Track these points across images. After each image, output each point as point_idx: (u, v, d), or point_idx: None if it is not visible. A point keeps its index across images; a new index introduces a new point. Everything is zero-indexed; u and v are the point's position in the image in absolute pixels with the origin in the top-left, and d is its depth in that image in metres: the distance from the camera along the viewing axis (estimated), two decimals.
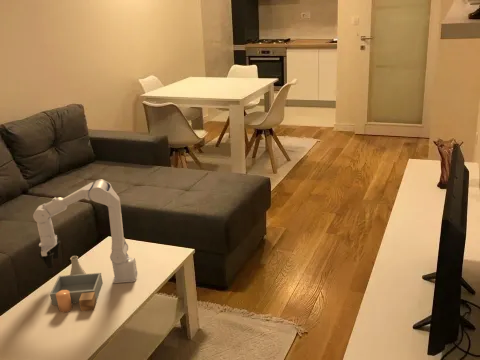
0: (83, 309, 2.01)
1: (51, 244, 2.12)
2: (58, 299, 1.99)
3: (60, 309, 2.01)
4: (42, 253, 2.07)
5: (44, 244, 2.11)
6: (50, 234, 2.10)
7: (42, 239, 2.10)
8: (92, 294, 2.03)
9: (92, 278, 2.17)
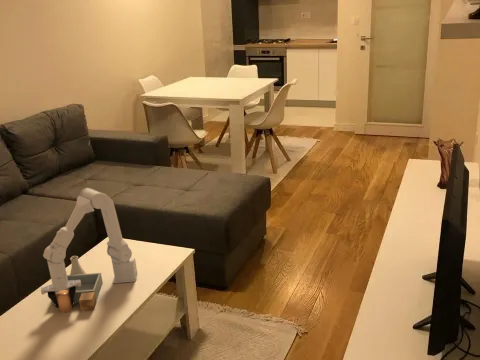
0: (83, 309, 2.01)
1: (54, 287, 1.97)
2: (58, 299, 1.99)
3: (60, 309, 2.01)
4: (41, 289, 1.98)
5: None
6: (65, 273, 1.98)
7: None
8: (92, 294, 2.03)
9: (92, 278, 2.17)
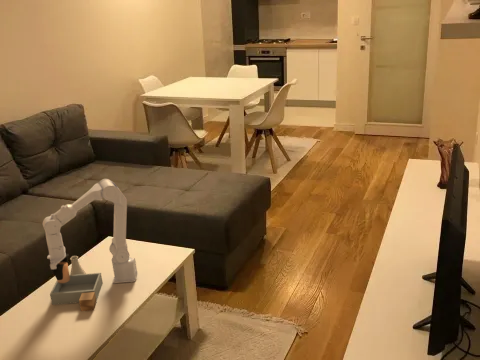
0: (83, 309, 2.01)
1: (60, 256, 2.04)
2: (63, 269, 2.06)
3: (65, 280, 2.08)
4: (51, 266, 1.99)
5: (53, 256, 2.03)
6: (61, 245, 2.03)
7: (50, 251, 2.02)
8: (92, 294, 2.03)
9: (92, 278, 2.17)
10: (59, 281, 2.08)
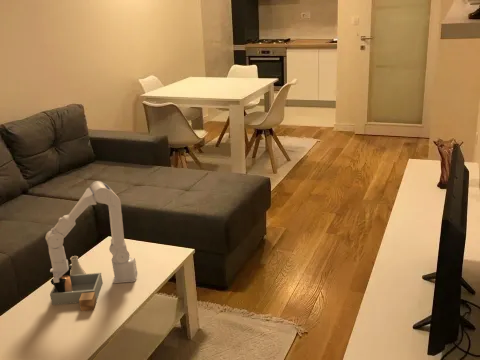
0: (83, 309, 2.01)
1: (63, 270, 2.06)
2: (66, 283, 2.09)
3: None
4: (54, 279, 2.02)
5: (56, 270, 2.05)
6: (64, 258, 2.06)
7: (53, 264, 2.04)
8: (92, 294, 2.03)
9: (92, 278, 2.17)
10: None
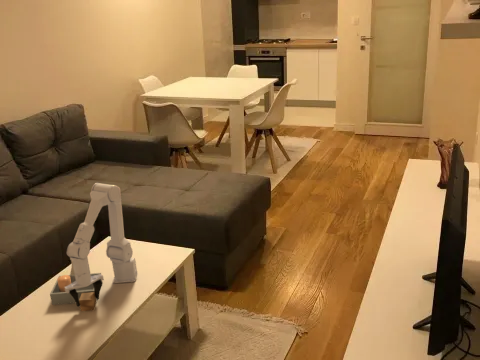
0: (83, 309, 2.01)
1: (79, 284, 1.97)
2: (66, 283, 2.09)
3: None
4: (65, 288, 1.96)
5: None
6: (89, 268, 1.99)
7: None
8: (92, 294, 2.03)
9: None
10: None
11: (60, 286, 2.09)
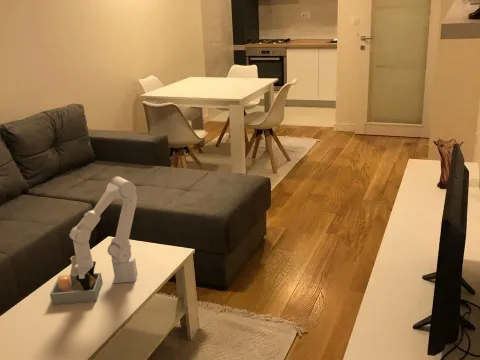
0: (90, 284, 2.10)
1: (88, 266, 2.06)
2: (67, 282, 2.09)
3: None
4: (80, 275, 2.02)
5: (81, 266, 2.05)
6: (90, 253, 2.06)
7: (79, 260, 2.04)
8: None
9: None
10: None
11: (60, 286, 2.09)
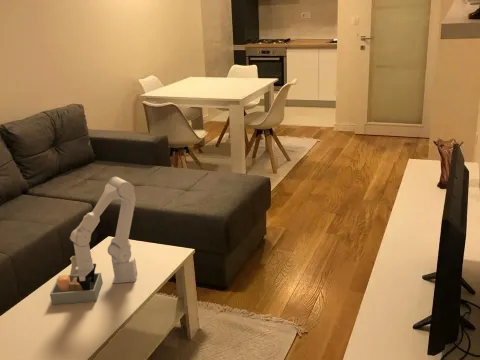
0: None
1: (88, 268, 2.06)
2: (66, 282, 2.09)
3: None
4: (80, 278, 2.02)
5: (81, 268, 2.06)
6: (90, 256, 2.07)
7: (79, 263, 2.05)
8: None
9: None
10: None
11: (60, 286, 2.09)
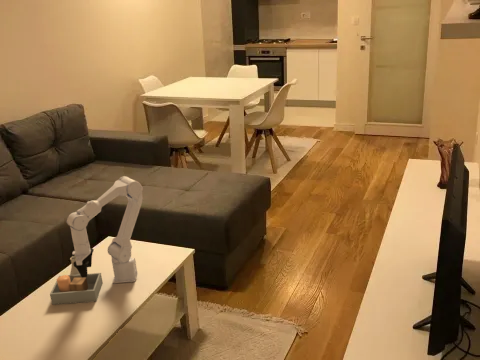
0: (80, 282, 2.10)
1: (85, 252, 2.04)
2: (67, 283, 2.09)
3: None
4: (77, 262, 1.99)
5: (78, 252, 2.03)
6: (87, 240, 2.04)
7: (76, 247, 2.02)
8: None
9: (92, 278, 2.17)
10: None
11: (60, 287, 2.08)
